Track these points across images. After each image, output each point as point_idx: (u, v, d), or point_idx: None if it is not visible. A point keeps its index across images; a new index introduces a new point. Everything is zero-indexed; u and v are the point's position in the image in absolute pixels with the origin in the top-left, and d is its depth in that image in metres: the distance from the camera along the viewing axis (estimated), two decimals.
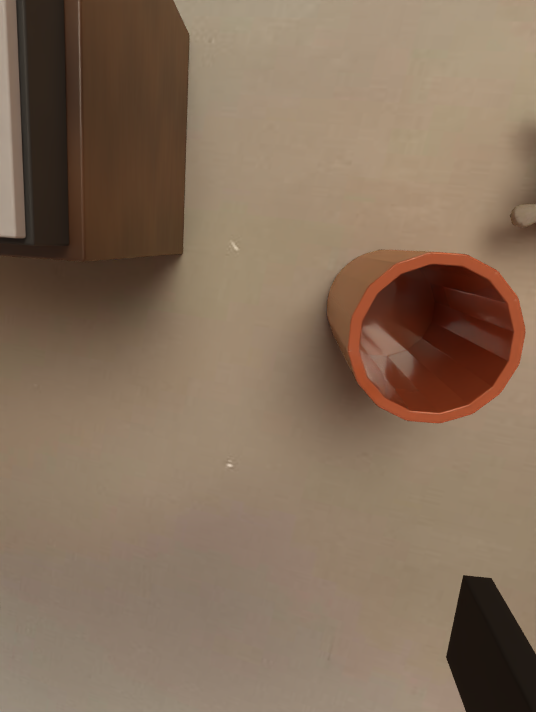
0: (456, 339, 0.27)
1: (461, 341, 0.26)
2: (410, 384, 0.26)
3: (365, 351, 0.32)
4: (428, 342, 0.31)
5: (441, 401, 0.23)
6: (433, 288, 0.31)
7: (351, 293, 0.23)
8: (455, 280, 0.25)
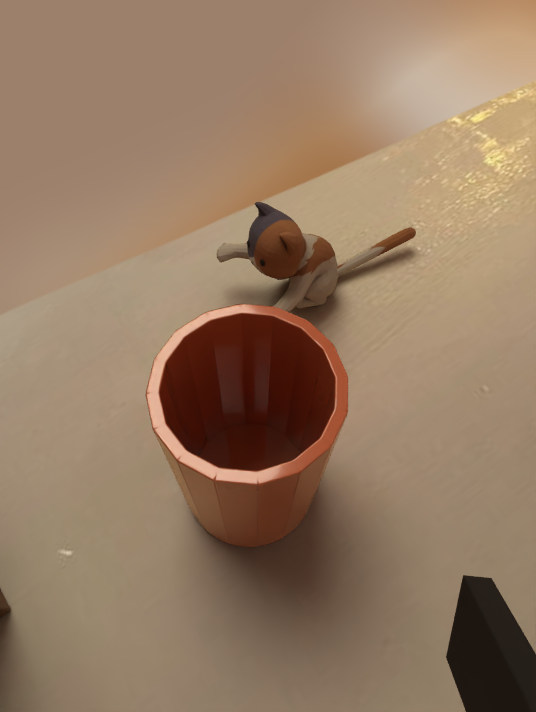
0: (309, 419, 0.24)
1: (310, 412, 0.23)
2: None
3: None
4: None
5: None
6: (271, 423, 0.29)
7: None
8: (253, 373, 0.24)
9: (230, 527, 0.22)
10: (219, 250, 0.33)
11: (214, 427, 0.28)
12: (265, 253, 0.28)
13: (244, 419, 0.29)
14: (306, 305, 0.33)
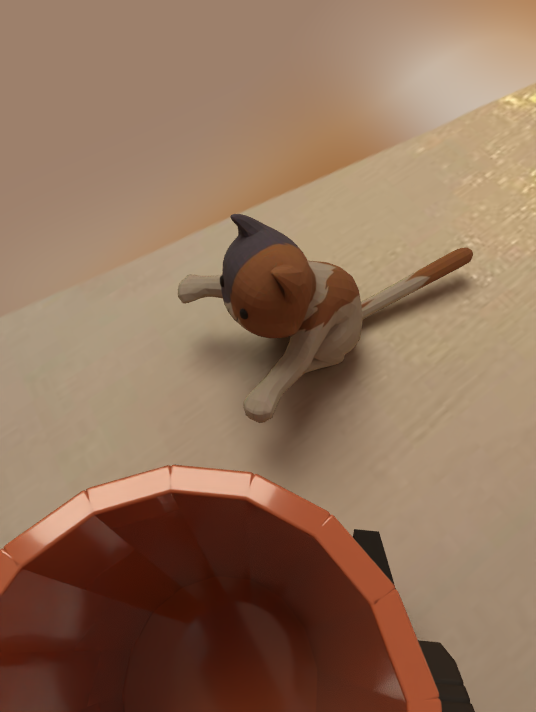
0: (325, 633, 0.13)
1: (328, 630, 0.12)
2: None
3: None
4: (322, 671, 0.15)
5: None
6: (257, 582, 0.17)
7: None
8: (217, 547, 0.12)
9: None
10: (181, 286, 0.21)
11: (160, 597, 0.16)
12: (248, 300, 0.17)
13: (213, 574, 0.17)
14: (314, 368, 0.22)
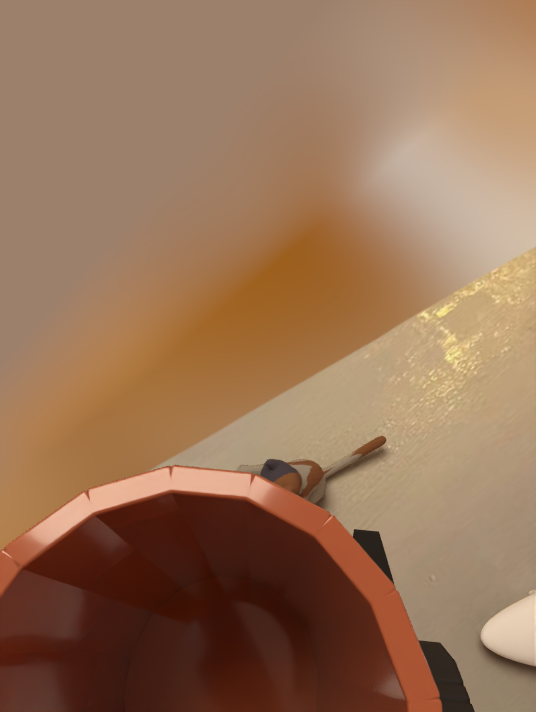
0: (326, 633, 0.13)
1: (329, 630, 0.12)
2: None
3: None
4: (323, 671, 0.15)
5: None
6: (257, 582, 0.17)
7: None
8: (217, 547, 0.12)
9: None
10: None
11: (160, 597, 0.16)
12: None
13: (213, 574, 0.17)
14: None
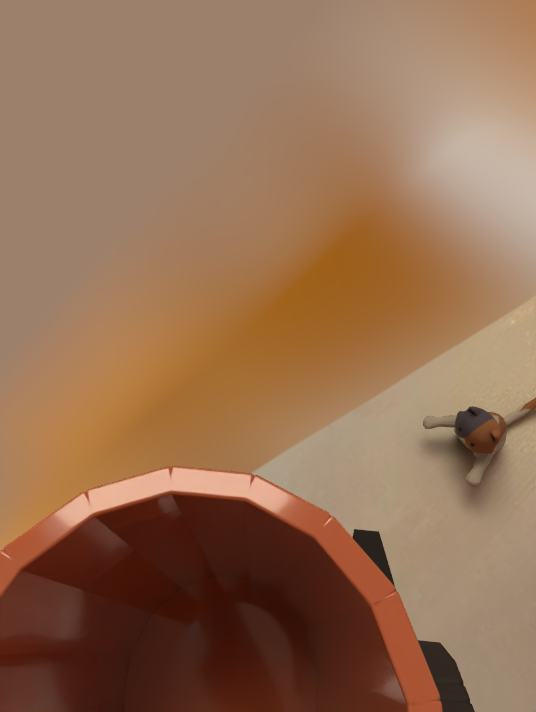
0: (326, 634, 0.13)
1: (328, 631, 0.12)
2: None
3: None
4: (323, 672, 0.15)
5: None
6: (257, 583, 0.17)
7: None
8: (217, 548, 0.12)
9: None
10: (426, 422, 0.47)
11: (160, 598, 0.16)
12: (477, 441, 0.43)
13: (213, 575, 0.17)
14: None
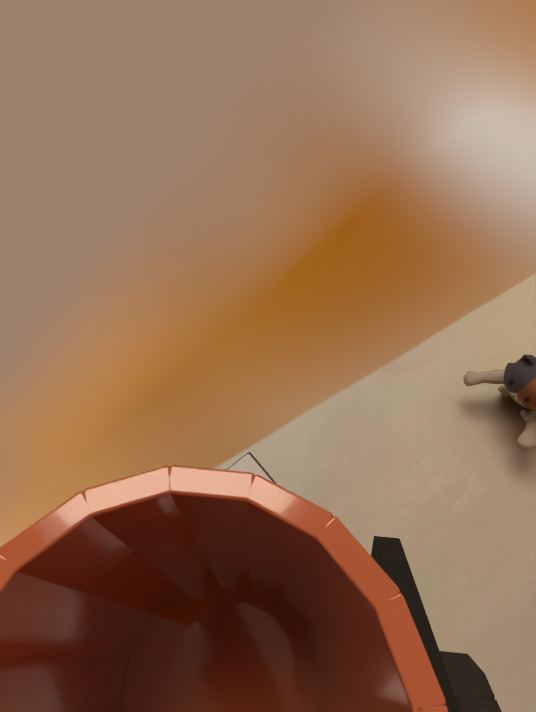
0: (327, 636, 0.12)
1: (330, 632, 0.12)
2: None
3: None
4: (324, 674, 0.15)
5: None
6: (258, 584, 0.17)
7: None
8: (217, 548, 0.12)
9: None
10: (468, 377, 0.41)
11: (159, 599, 0.16)
12: (534, 395, 0.36)
13: (213, 576, 0.17)
14: None
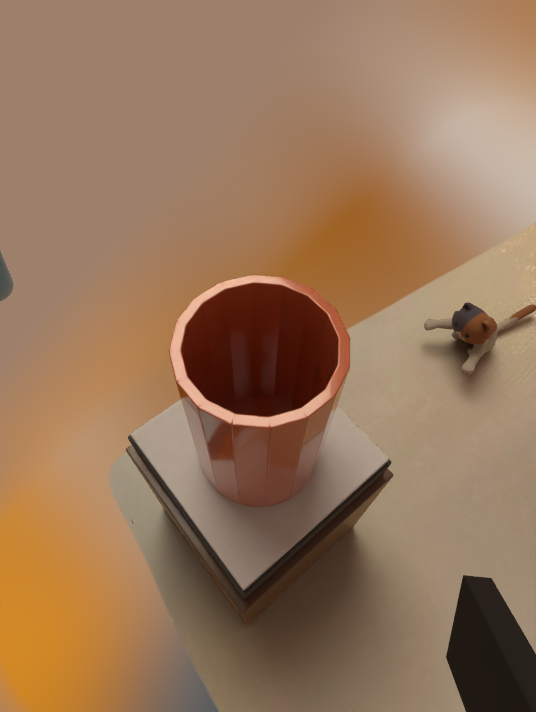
0: (314, 385, 0.26)
1: (315, 379, 0.25)
2: None
3: None
4: None
5: None
6: (278, 395, 0.31)
7: None
8: (262, 343, 0.26)
9: (242, 482, 0.24)
10: (427, 323, 0.54)
11: (225, 397, 0.30)
12: (471, 331, 0.50)
13: (253, 391, 0.31)
14: None
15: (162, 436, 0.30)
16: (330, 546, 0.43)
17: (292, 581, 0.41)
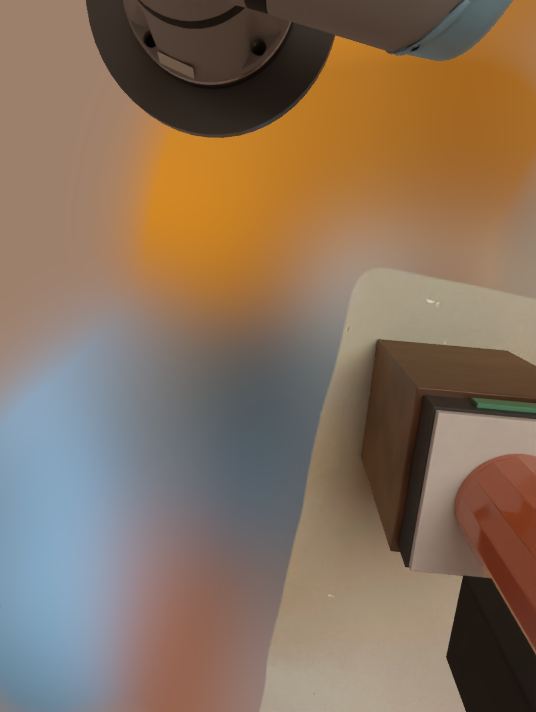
0: None
1: None
2: None
3: None
4: None
5: None
6: None
7: (529, 572, 0.23)
8: None
9: None
10: None
11: None
12: None
13: None
14: None
15: (458, 437, 0.31)
16: None
17: None
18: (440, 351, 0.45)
